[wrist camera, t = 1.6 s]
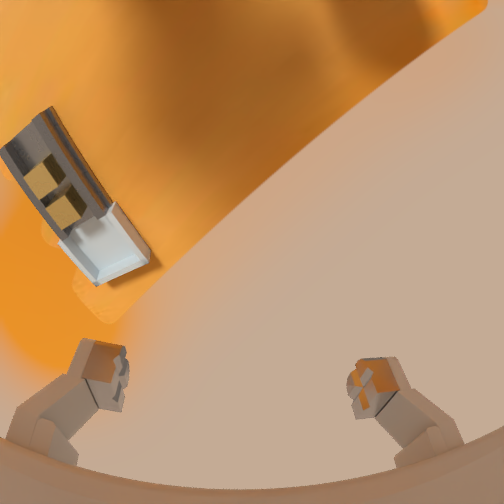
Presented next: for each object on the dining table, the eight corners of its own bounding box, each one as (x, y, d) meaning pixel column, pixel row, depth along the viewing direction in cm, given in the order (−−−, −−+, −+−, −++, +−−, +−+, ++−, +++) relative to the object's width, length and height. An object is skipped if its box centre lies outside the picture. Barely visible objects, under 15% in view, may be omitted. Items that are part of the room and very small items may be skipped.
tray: (63, 232, 41) (57, 243, 39) (115, 201, 40) (111, 212, 38) (99, 274, 48) (96, 286, 45) (151, 250, 46) (149, 262, 44)
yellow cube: (54, 196, 36) (45, 208, 34) (73, 183, 36) (64, 195, 33) (69, 216, 39) (61, 230, 36) (88, 204, 38) (81, 217, 36)
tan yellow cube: (33, 166, 33) (23, 177, 30) (52, 151, 32) (42, 161, 30) (48, 188, 35) (39, 200, 33) (67, 174, 35) (58, 186, 32)
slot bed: (6, 145, 30) (-5, 153, 28) (51, 105, 29) (42, 111, 27) (65, 230, 41) (59, 242, 39) (113, 202, 40) (108, 213, 38)
